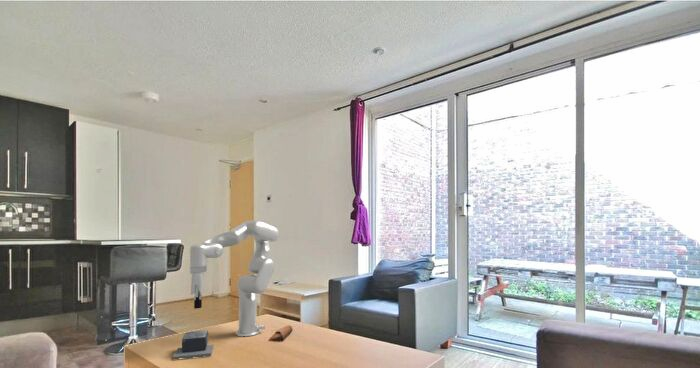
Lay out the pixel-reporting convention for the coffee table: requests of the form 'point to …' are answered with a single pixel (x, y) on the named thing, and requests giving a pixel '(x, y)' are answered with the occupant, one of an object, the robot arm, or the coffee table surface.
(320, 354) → the coffee table surface
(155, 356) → the coffee table surface
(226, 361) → the coffee table surface
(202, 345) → the small box
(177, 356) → the rubber pad
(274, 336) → the sunglasses case
